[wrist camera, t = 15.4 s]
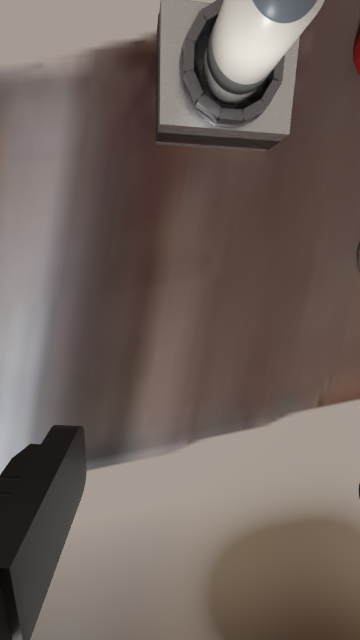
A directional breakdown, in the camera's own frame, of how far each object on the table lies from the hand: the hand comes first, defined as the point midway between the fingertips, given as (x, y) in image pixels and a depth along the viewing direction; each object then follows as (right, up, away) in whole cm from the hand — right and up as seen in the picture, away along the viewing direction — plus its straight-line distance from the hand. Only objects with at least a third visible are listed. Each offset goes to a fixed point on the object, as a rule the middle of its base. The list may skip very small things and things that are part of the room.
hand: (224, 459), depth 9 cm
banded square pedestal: (+2, +27, +24) cm, 36 cm away
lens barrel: (+3, +25, +18) cm, 31 cm away
